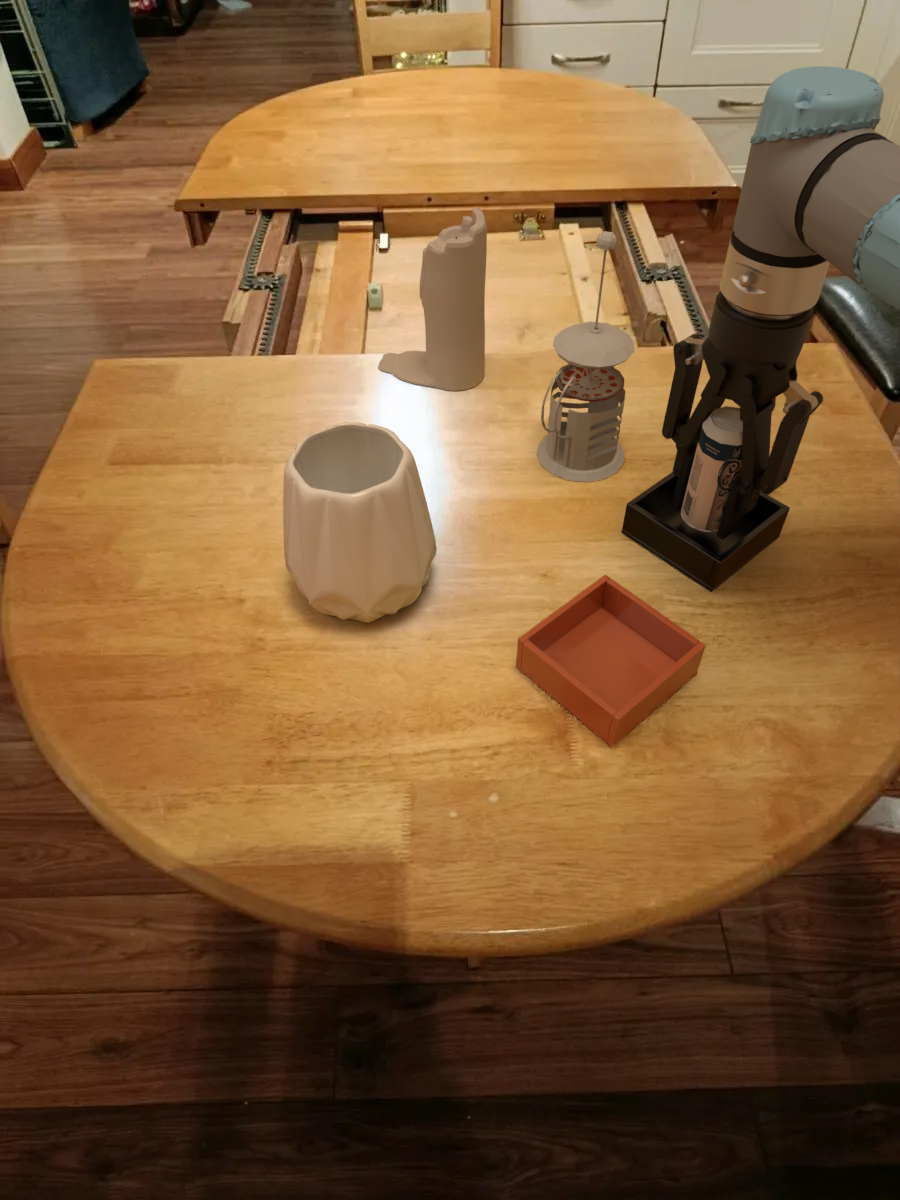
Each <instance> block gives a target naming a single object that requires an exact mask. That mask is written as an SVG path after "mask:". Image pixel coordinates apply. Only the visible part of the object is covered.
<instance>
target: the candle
mask: <svg viewBox="0 0 900 1200" xmlns="http://www.w3.org/2000/svg"><path fill="white" fill-rule="evenodd" d="M487 227H488V225H487V220H486V216H485V214H484V213H483V210H482V209H481V208H480V207H476V206H474V207H473V208H472V209H471V216H469V215H464V216H463V217H462V221H461V224H459V225H451V226H448V227H446V228H444V229H442V230H441V231H440V232H439V234H438V237H437V238H434V239H433V240H432V241H430V242H428V243H427V245H426V247H424V248H423V249H422V258H421V261H422V262H421V269H420V277H419V298H420V300H421V306H422V309H423V316H424V327H425V330H424V331H425V351H423V350H407V351H403V352H399V353H397V352H396V353H395V352H388V353H384V354H383V355H382V358H381V359H380V361H379V362H378V366H377V368H378V369H379V371H382V372H384V373H387V374H391V375H393V376H394V377H396V378H397V379H398V380H401V381H404V382H407V383H410V384H413V385H416V386H417V385H419V386H423V387H430V388H435V389H440V390H445V391H452V392H453V391H454V392H459V391H467V390H470V389H472V388H474V387H476V386H478V385H479V384H480V383H482V381H483V380H484V377H485V366H486V365H485V362H486V361H485V360H486V359H485V358H486V353H485V352H486V321H485V320H486V317H485V313H486V312H485V310H486V309H485V307H486V306H485V297H486V275H487V273H486V272H487V253H488V252H487V251H488V250H487V248H488V247H487V244H488V242H487V241H488V228H487Z"/></svg>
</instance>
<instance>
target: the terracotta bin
mask: <svg viewBox="0 0 900 1200" xmlns="http://www.w3.org/2000/svg"><path fill="white" fill-rule="evenodd" d="M516 646H517V647H516V659H515V660H516V661H515V667H516V669H517V670H519V671H520V672H521V673H522V674H523V675H525V676H526V677H527V678H529V680H531V681H532V682H533V683H534V684H535V685H537V686H538V687H539V688H540V689H541V690H543V691H544V692H545V693H546V694H548V695H549V697H551V698H552V699H553V700H554V701H556V702H557V703H558V704H559V705H560V706H562V708H564V709H565V710H566V711H568V712H569V713H570V714H571V715H573V716H574V717H575V718H576V719H578V720H579V722H581V723H582V724H584V725H585V726H586V727H587V729H589V730H591V731H592V732H593V733H594V734H595V735H596V736H598V737H599V738H600V739H602V740H603V741H604V742H605V743H606V745H607V744H608V745H609V746H610V747H611V748H613V747H614V746H615V745H617V744H618V743H619V742H620V741H622V739H624V738H625V737H626V736H627V735H629V734H630V733H631V732H632V731H633V730H634V729H635V728H637V726H639V725H640V724H641V723H642V722H643V721H644V720H645V719H646V718H648V717H649V716H650V715H651V714H652V713H654V712H655V711H656V710H657V709H658V708H659V707H661V706H662V705H663V704H664V703H665V702H666V701H667V700H668V699H670V698H671V697H672V696H673V695H674V694H675V693H677V692H678V690H680V689H681V688H682V687H683V686H685V684H687V683H688V682H689V681H690V680H692V679H693V677H695V676H696V675H697V674H698V671H699V669H700V668H699V667H700V664H701V662H702V659H703V655H704V653H705V649H706V644H705V643H704V642H702V641H701V640H699V639H698V638H697V637H696V636H694V635H692V634H691V633H689V632H688V631H686V630H685V629H684V628H682V626H679V625H678V624H677V623H675V622H674V621H672V620H671V619H669V618H668V617H667V616H665V615H664V614H663V613H662V612H659V611H658V610H657V609H655V608H654V607H652V606H651V605H649V604H648V603H646V602H645V601H644V600H643V599H641V598H639V597H638V595H636V594H634V593H632V592H631V591H630V590H629V589H627V588H625V587H624V586H622V585H621V584H620V583H618V582H617V581H615V580H614V579H612V577H611V576H608V574H604V575H602V576H601V577H599V578H598V579H597V580H596V581H594V582H593V583H591V584H590V585H589V586H588V587H586V588H585V589H583V590H582V591H581V592H579V593H578V594H576V595H575V596H574V597H573V598H571V599H570V600H568V601H567V602H566V603H564V604H563V605H561V606H560V607H558V609H556V610H555V611H553V612H552V613H551V614H549V615H548V616H546V617H545V618H544V619H542V620H541V621H539V622H538V623H537V624H536V625H534V626H533V627H531V628H530V629H529V630H528V631H527V632H525V633H523V634H522V635H521V636H519V637H518V638H517V645H516Z"/></svg>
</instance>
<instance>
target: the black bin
mask: <svg viewBox="0 0 900 1200" xmlns="http://www.w3.org/2000/svg"><path fill="white" fill-rule="evenodd" d="M677 481H678V477H677V476H675V475H674V474H673V471H671V472H670V473H668V474H667V475H666V476H664V477H663V478H661V479H660V480H658V481H657V482H655V483H654V484H653V485H651V486H650V487H649V488H647V489H645V490H644V491H642V493H640V494H638V495H637V496H635V497H634V498H632V499H631V500H630V501H628V502H627V503H626V505H625V510H624V518H623V521H622V526H621V534H623V535H624V536H626V537H627V538H628V539H630V540H632V541H634V542H635V543H636V544H638V545H639V546H641V547H643V549H645V550H646V551H648V552H650V553H651V554H653V555H655V556H656V557H657V558H659V559H660V560H662V561H663V562H664V563H666V564H668V565H669V566H671V567H672V568H674V569H675V570H676V571H678V572H680V573H681V574H683V575H684V576H686V577H687V578H689V579H690V580H692V581H694V582H695V583H697V584H698V585H700V586H701V587H703V588H704V589H705V590H707V591H708V592H710V593H713V592H714V591H715V590H716V589H717V588H719V587H720V586H721V585H722V584H724V583H725V582H727V580H729V579H730V578H731V577H732V576H733V575H735V574H736V573H737V572H738V571H739V570H741V569H742V568H743V567H744V566H746V565H747V564H748V563H749V562H751V561H752V560H753V559H754V558H755V557H757V556H758V555H759V554H761V553H762V552H763V551H764V550H766V549H767V548H768V547H769V546H770V545H771V544H773V543H774V542H776V540H777V539H779V538H780V537H781V533H782V531H783V528H784V526H785V523H786V521H787V517H788V515H789V512H790V509H791V507H790V506H788V505H786V503H783V502H781V501H780V500H777V499H776V498H774V497H772V496H770V494H769V495H766V494H764V493H762V492H760V495H759V498H758V501H757V504H756V506H755V507H754V508H753V509H752V510H750V511H749V512H748V513H747V514H745V515H743V518H742V521H741V524H740V527H739V528H738V529H736V530H735V531H734V532H732V533H731V534H730V535H729V536H727V537H726V538H725V539H723V540H722V539H721V538H719V537H717V533H718V531H716V532H703V531H699V530H696V529H694V528H692V527H690V526H689V525H688V524H686V523H685V521H684V520H683V518H682V516H681V509H682V508H681V509H680V510H679V511H675V510H674V509H672V508H671V506H672V502H673V498H674V494H675V489H676V485H677Z"/></svg>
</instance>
